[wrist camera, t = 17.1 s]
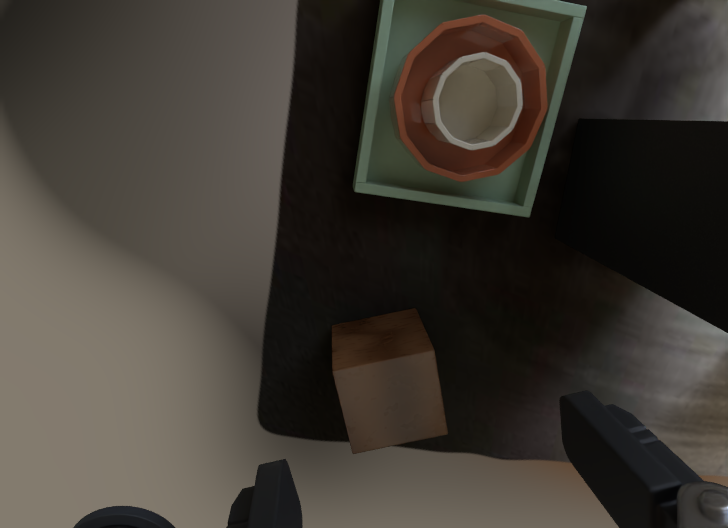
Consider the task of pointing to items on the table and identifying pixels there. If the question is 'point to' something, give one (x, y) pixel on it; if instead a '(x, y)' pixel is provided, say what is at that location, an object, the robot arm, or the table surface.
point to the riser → (387, 381)
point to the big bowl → (433, 55)
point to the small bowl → (472, 101)
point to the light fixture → (653, 207)
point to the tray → (392, 42)
